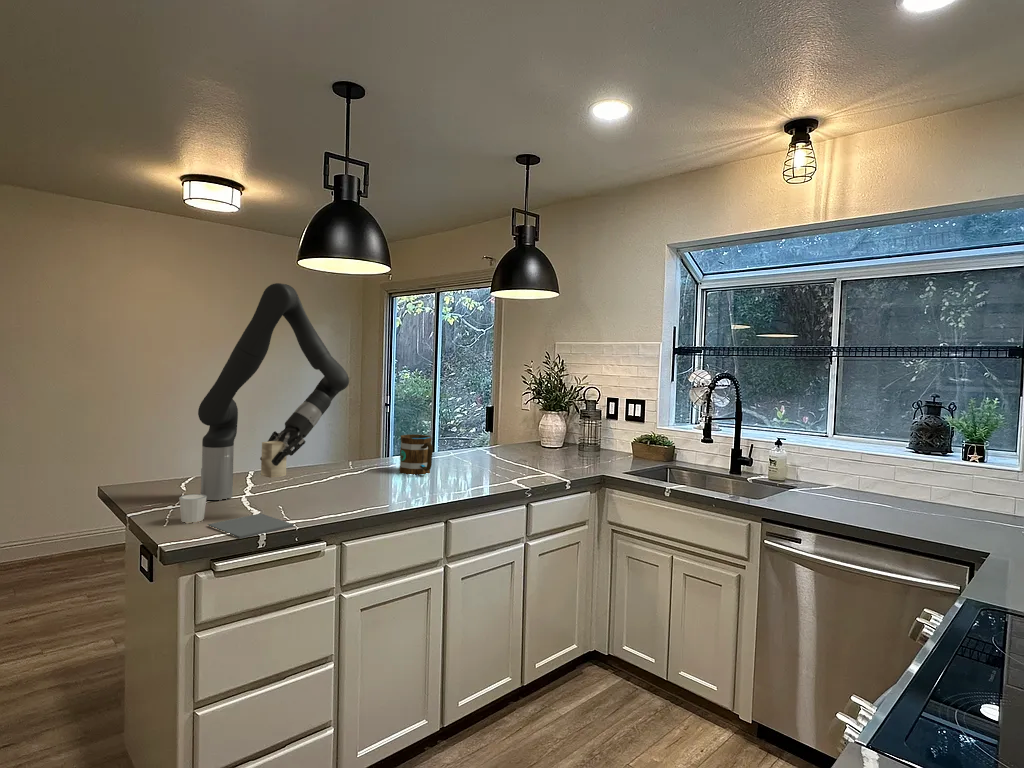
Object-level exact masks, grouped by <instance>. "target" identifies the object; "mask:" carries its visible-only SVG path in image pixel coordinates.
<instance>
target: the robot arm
mask: <svg viewBox="0 0 1024 768" xmlns="http://www.w3.org/2000/svg"><path fill="white" fill-rule="evenodd" d="M282 317H284V319H285V320H286V321H287V323H288V324H289V326H290V327H291V329H292V331H293V333H294V335H295V338H296V341H297V343H298V345H299V347H300V350H301V351H302V353H303V354H304V356H305V358H306V359H307V361H308V362H309V364H310V366H311V367H312V368H313V369H314V370H317V371H319V372H320V373H322V375H323V377H322V378H321V379H320V381H319V382H318V383H317V385H316V386H315V388H314V389H313V391H312V392H311V393H310V394H309V395H308V396H307V397H306V399H305V400H304V401H303V402H302V403H301V404H300V405H298V407H297V408H296V409H295V410H294V412H292V414H291V415H290V416H289V417H288V418H287V420H286V421H285V422H284V428H283V429H282V430H281V431H280V432H277V431H273V432H272V434H271V435H270V437H269V439H268V440H267V441H266V442H268V441H282V442H283V443H284V444H283V447H282V448H281V450H280V451H281V452H278V454H277V455H276V456H275V457H274V458H273V460H272V461H271V462H272V463H273V464H274V465H275V466H277V465H278V464H279V463H280V462H281V461H282V460H283V458H284V457H286V456H287V457H288V456H290V457H291V456H293V455H294V454H295V453H297V451H299V450H300V449H301V448H302V447H303V446H304V445H305V444H306V440H305V438H306V437H307V436H308V435H309V433H310V432H311V431H312V430H313V428H315V426H316V425H317V424H318V422H319V421H320V419H321V418H322V417H323V415H324V413H326V412H327V410H328V409H329V408H330V406H331V403H332V401H333V400H334V399H335V398H336V396H337V395H338V394H339V393H340V392H342V391H344V390H345V389H346V388H348V386H349V385H350V384H349V383H350V377H349V375H348V373H347V372H346V370H345V368H344V367H343V366H342V365H341V364H340V363H339V362H338V361H337V360H336V359H335V358H334V357H333V356H332V354H331V353H330V351H329V350H328V348H327V346H326V344H324V342H323V340H322V339H321V338H320V336H319V333H318V332H317V331H316V330H315V328H314V326H313V324H312V323H311V321H310V318H309V317H308V315H307V313H306V310H305V308H304V307H303V304H302V302H301V299H300V297H299V294H298V293H297V290H296V289H295V288H294V287H293V286H292V285H290V284H285V283H281V282H280V283H279V282H276V283H275V282H274V283H271V284H270V285H268V286H267V287H266V288H265V289H264V291H263V292H262V295H261V297H260V300H259V301H258V305H257V307H256V309H255V311H254V314H253V316H252V318H251V320H250V321H249V323H248V325H247V326H246V328H245V329H244V331H243V332H242V334H241V336H240V337H239V339H238V341H237V343H236V344H235V346H234V348H233V350H232V352H231V353H230V356H229V358H228V359H227V361H226V362H225V364H224V366H223V367H222V368H223V369H222V370H221V372H220V374H219V376H218V377H217V379H216V381H215V382H214V384H213V385H212V387H211V388H210V389H209V391H208V392H207V394H206V395H205V396H204V398H203V399H202V401H201V403H200V404H199V406H198V409H197V410H198V411H197V415H198V419H199V420H200V422H201V423H202V424H203V425H206V426H208V431H207V432H206V434H205V435H204V436H203V437H202V449H201V450H202V451H201V453H202V454H201V468H200V494H203V495H206V496H207V498H206V501H207V500H219V501H223V500H222V499H226V500H228V499H227V498H230V499H231V497H232V496H233V487H234V451H235V450H234V449H235V445H234V444H235V439H236V437H237V432H238V421H239V420H238V419H239V408H238V405H237V403H236V401H235V400H234V398H235V396H236V394H237V392H238V391H239V390H240V389H241V387H243V386H244V385H245V384H246V383H247V382H248V381H249V380H250V379H251V378H252V377H253V376H254V375H255V373H256V372H257V371H258V369H259V368H260V366H261V364H262V363H263V361H264V360H265V357H266V355H267V353H268V351H269V348H270V344H271V340H272V335H273V333H274V330H275V328H276V326H277V325H278V323H279V321H280V320H281V318H282ZM261 458H262V455H261V456H260V461H261V460H262V459H261ZM232 498H233V497H232Z"/></svg>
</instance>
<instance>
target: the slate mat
mask: <svg viewBox="0 0 1024 768" xmlns="http://www.w3.org/2000/svg"><path fill="white" fill-rule="evenodd" d="M207 525H209V526H211V527H214V528H217V529H219V530H222V531H225V532H227V533H230V534H232V535H234V536H235V537H234V536H233V537H234V538H236V537H237V538H236V539H239V540H240V539H245V538H248V537H249V538H250V537H253V536H257V535H262V534H266V533H270V532H275V531H278V530H283V529H286V528H292V527H294V523H291V522H287V521H285V520H282V519H280V518H276V517H273V516H269V515H266V514H264V513H257V514H251V515H246V516H241V517H237V518H233V519H232V518H231V519H227V520H223V521H218V522H211V523H207Z"/></svg>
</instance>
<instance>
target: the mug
mask: <svg viewBox="0 0 1024 768" xmlns="http://www.w3.org/2000/svg"><path fill="white" fill-rule="evenodd" d="M399 449H400V451H399V456H400V457H399V460H400V461H399V469H398V470H399V471H400V472H399V471H398V472H399V474H402V473H404V475H408V474H413V475H412V476H420V475H419V474H424V475H427V474H426V473H428V474H430V473H431V468H432V465H433V464H432V462H433V452H434V451H433V450H434V447H433V445H432V436H431V435H426V434H409V433H408V434H402V435H400V448H399ZM414 474H415V475H414ZM417 474H418V475H417Z"/></svg>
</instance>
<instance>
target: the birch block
mask: <svg viewBox="0 0 1024 768" xmlns="http://www.w3.org/2000/svg"><path fill="white" fill-rule="evenodd" d="M267 441H268V440H267ZM267 441H262V442H261V456H262V458H261V457H260V458H261V459H262V460H260V461H261V462H260V463H261V465H260V476H262V477H265V478H269V479H273V478H280V477H286V476H287V457H288V456H286V457H284V458H283V460H282V461H281V462H280V463H279V464H278V465H277V466H275V465H274V464H273V463H272V462H271V461H272V460H273V458H274V457H275V456H276V455H277V454H278V452H281V451H280V450H281V448H282V447H283V444H284V443H283V442H282V441H268V442H267Z"/></svg>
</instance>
